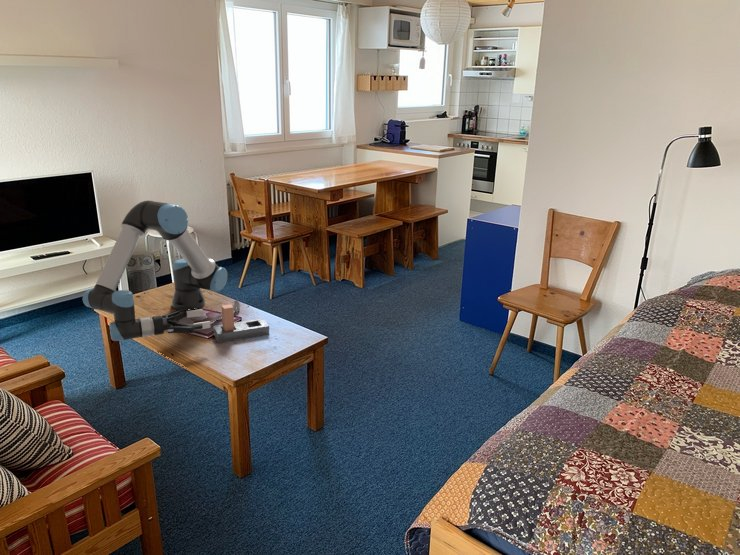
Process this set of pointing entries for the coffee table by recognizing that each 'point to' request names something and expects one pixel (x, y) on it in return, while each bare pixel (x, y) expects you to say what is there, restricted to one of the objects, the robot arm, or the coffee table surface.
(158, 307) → the coffee table surface
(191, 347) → the coffee table surface
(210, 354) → the coffee table surface
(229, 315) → the peg
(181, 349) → the coffee table surface
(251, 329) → the grey peg hole block
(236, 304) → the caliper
